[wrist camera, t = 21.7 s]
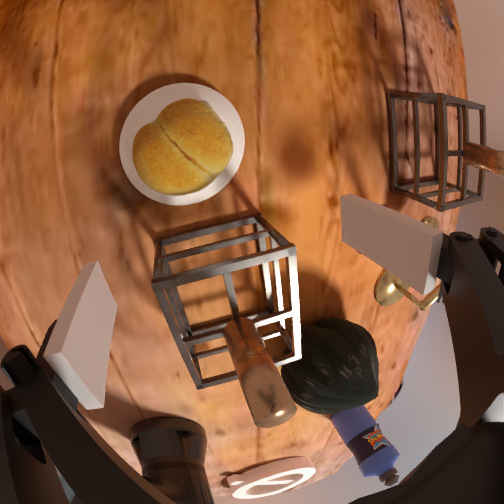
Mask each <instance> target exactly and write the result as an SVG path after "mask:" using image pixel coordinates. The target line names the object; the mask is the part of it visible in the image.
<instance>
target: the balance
mask: <svg viewBox="0 0 504 504" xmlns="http://www.w3.org/2000/svg"><path fill="white" fill-rule="evenodd" d="M421 222H423V223H426V224H428V225H430V226H432V227H434V228H437V229H438V221H437V219H436V218H434V217H432V216H426V217H424V218H423V219H422V220H421ZM356 251H357V250H356ZM357 252H359V251H357ZM359 253H360V252H359ZM360 254H362V253H360ZM440 285H441V283H440V284H439V285H438V286H437V287H436V288H435V289H434V290H433V291H432V292H430V293H429V294H428V295H427V296H426V297H425V298H424V299H423V300H422V301H420V300H418V299H417V298H416V297H415V296H413V295H412V294H411V293H410V292H408V291H407V290H408V288H409V285H408V284H406V283H405V282H404V281H402V280H401V279H399V278H398V277H396V276H395V275H393V274H392V273H390V272H389V271H387V270H386V269H383V271H382V272H381V273H380V275H379V276H378V278H377V280H376V283H375V286H374V298H375V300H376V301H377V302H378V303H379V304H380V305H382V306H390V305H392V304H394V303H396V302H397V301H398V300H400V299H401V298H402V297H403V295H405V296H406V297H407V298H409V299H410V300H411V301H412V302H414V303H415V304H416V305H417V306H418V307H419V308H420V309H421V310H422V311H424V310H426V309H427V308H428V307H429V306H430V305H431V304H432V303H433V302H434V301H435V300H436V299H437V298H438V294H439V289H440Z"/></svg>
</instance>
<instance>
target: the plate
mask: <svg viewBox="0 0 504 504" xmlns="http://www.w3.org/2000/svg"><path fill="white" fill-rule="evenodd" d="M185 98H190V99H196V100H201V101H203V100H205V101H207V102H208V103H209V104H210V106H211V107H212V108H213V109H214V111H215V112H216V113H217V115H218V116H219V117H220V119H221V120H222V121H223V122H224V123H225V125H226V126H227V128H228V131H229V132H230V133H231V138H232V142H233V149H234V150H233V154H232V157H231V159H230V161H229V163H228V165H227V166H226V168H225V170H223V172H222V173H221V174H220V175H219V176H218V177H217V178H216V179H215V180H214V181H213V182H212V183H211V184H210V185H208V186H207V187H206V188H204V189H202V190H200V191H198V192H195V193H191V194H187V195H182V196H173V195H165V194H161V193H158V192H156V191H154V190H152V189H150V188H149V187H148V186H147V185H146V184H145V183H144V182H143V181H142V180H141V179H140V177H139V176H138V174H137V171H136V169H135V166H134V163H133V157H132V149H133V141H134V138H135V135H136V133H137V132H138V131H139V129H140V128H141V127H143V126H144V125H146V124H148V123H151V122H153V121H154V120H155V119H156V118H157V117H158V115H159V113H160V112H161V111H162V110H163V109H164V108H165V107H166V106H167V105H169V104H171V103H173V102H175V101H178V100H181V99H185ZM244 144H245V138H244V130H243V125H242V122H241V119H240V117H239V115H238V113H237V111H236V110H235V108H234V107H233V105H232V104H231V103H230V102H229V101H228V100H227V99H226V98H225V97H224V96H223V95H221V94H220V93H218V92H217V91H215V90H213V89H211V88H209V87H206V86H203V85H199V84H194V83H176V84H171V85H167V86H163V87H161V88H159V89H156V90H154V91H153V92H151V93H149V94H148V95H146V96H145V97H144V98H143V99H141V100H140V101H139V102H138V103H137V104H136V105H135V107H134V108H133V109H132V110H131V112H130V113H129V115H128V117H127V118H126V120H125V123H124V125H123V128H122V131H121V135H120V143H119V152H120V159H121V163H122V166H123V169H124V171H125V173H126V175H127V177H128V178H129V180H130V182H131V183H132V184H133V185H134V186H135V188H137V189H138V190H139V191H140V192H141V193H142V194H144V195H145V196H147V197H148V198H150V199H152V200H155V201H157V202H160V203H163V204H168V205H189V204H194V203H198V202H201V201H203V200H206V199H208V198H210V197H212V196H213V195H215V194H216V193H218V192H219V191H220V190H222V189H223V188H224V187H225V186H226V185H227V184H228V183H229V182H230V180H231V179H232V178H233V176H234V175H235V173H236V171H237V170H238V168H239V165H240V163H241V160H242V157H243V152H244Z"/></svg>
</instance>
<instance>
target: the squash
mask: <svg viewBox="0 0 504 504" xmlns="http://www.w3.org/2000/svg"><path fill="white" fill-rule="evenodd" d="M300 334H301V354H302V358H301V359H299V360H296V361H292V362H289V363H287V364H284V365H282V368H281V376H282V379H283V381H284V383H285V385H286V387H287V389H288V391H289V393H290V395H291V397H292V399H293V401H294V402H295V403H296V404H298V405H299V406H301V407H303V408H305V409H306V410H308V411H310V412H313V413H318V414H334V413H339V412H342V411H346V410H350V409H354V408H356V407H359V406H362V405H364V404H367V403H368V402H370V401H372V400H373V399H376V398H377V396H378V390H379V380H378V374H379V363H378V358H377V352H376V346H375V342H374V340H373V338H372V336H371V334H370V333H369V332H368V331H367V330H366V329H365V328H363V327H362V326H360V325H358V324H355V323H352V322H350V321H348V320H345V319H339V318H333V317H331V318H324V319H322V320H320V321H319V322H318V323H317V324H316V326H309V325H307V326H304V327H302V328H301V329H300ZM289 353H291V351H290V349H289V348H288V347H287V348H286V349H285V351H284V353H283V354H284V355H286V354H289Z"/></svg>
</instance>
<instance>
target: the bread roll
mask: <svg viewBox="0 0 504 504" xmlns="http://www.w3.org/2000/svg"><path fill="white" fill-rule="evenodd" d="M233 150H234V149H233V142H232V138H231V133H230V132H229V131H228V128H227V126H226V125H225V123H224V122H223V121H222V120H221V119H220V117H219V116H218V115H217V113H216V112H215V111H214V109H213V108H212V107H211V106H210V104H209V103H208V102H207V101H205V100H203V101H201V100H196V99H190V98H185V99H181V100H178V101H175V102H173V103H171V104H169V105H167V106H166V107H165V108H164V109H163V110H162V111H161V112H160V113H159V115H158V117H157V118H156V119H155V120H154V121H153V122H151V123H148V124H146V125H144V126H143V127H141V128H140V129H139V131H138V132H137V133H136V135H135V138H134V141H133V149H132V157H133V163H134V166H135V169H136V171H137V174H138V176H139V177H140V179H141V180H142V181H143V182H144V183H145V184H146V185H147V186H148V187H149V188H150V189H152V190H154V191H156V192H158V193H161V194H165V195H173V196H182V195H187V194H191V193H195V192H198V191H200V190H202V189H204V188H206V187H207V186H208V185H210V184H211V183H212V182H213V181H214V180H215V179H216V178H217V177H218V176H219V175H220V174H221V173H222V172H223V170H225V168H226V166H227V165H228V163H229V161H230V159H231V157H232V154H233Z"/></svg>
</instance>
